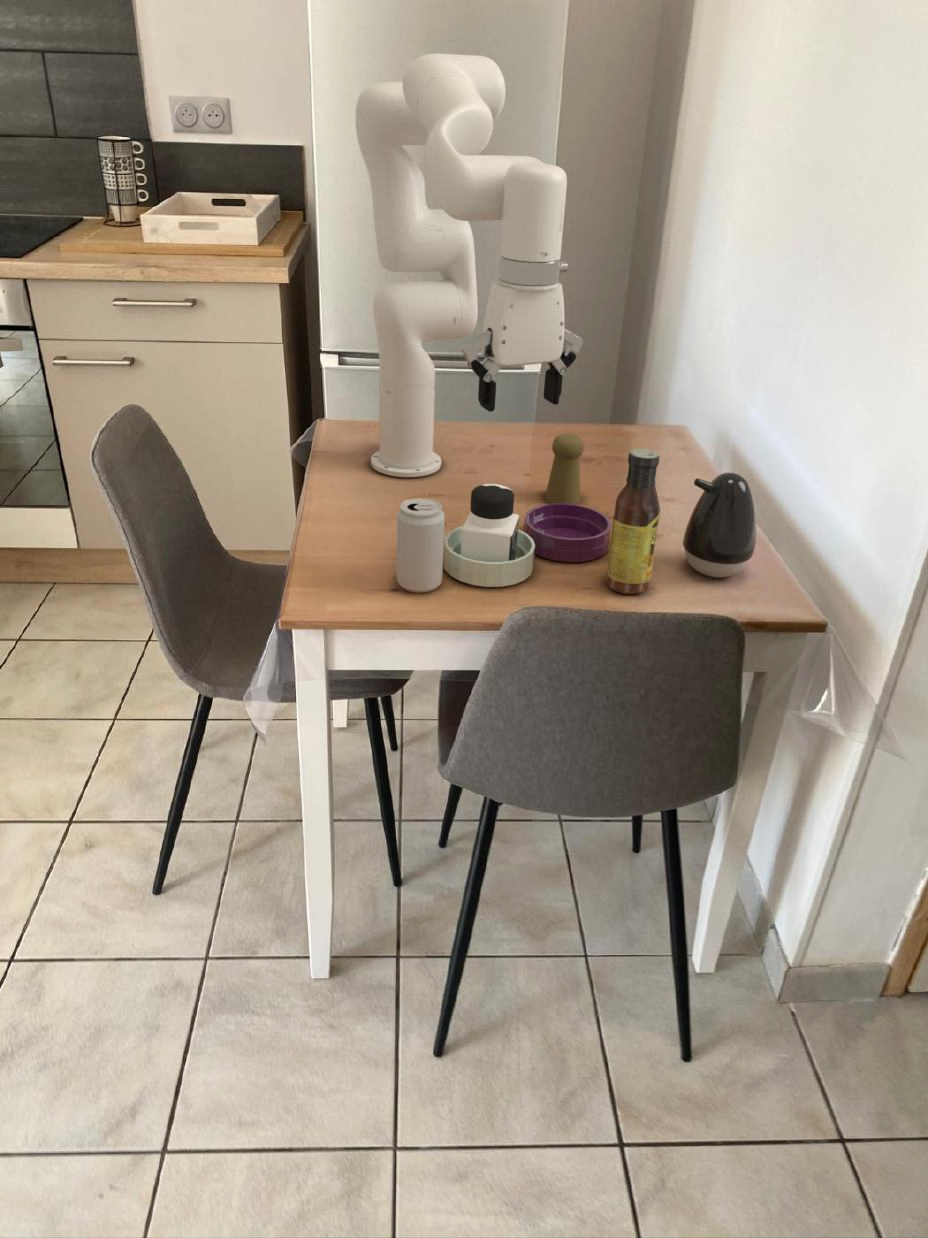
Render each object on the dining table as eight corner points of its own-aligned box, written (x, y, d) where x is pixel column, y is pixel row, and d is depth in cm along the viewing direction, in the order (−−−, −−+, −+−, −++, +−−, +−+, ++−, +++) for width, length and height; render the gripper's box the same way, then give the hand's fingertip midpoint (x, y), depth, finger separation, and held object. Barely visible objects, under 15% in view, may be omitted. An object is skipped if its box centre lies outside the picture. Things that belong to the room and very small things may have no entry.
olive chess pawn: (583, 495, 164) (591, 433, 158) (575, 508, 159) (583, 445, 153) (549, 489, 165) (555, 428, 160) (540, 502, 161) (546, 439, 155)
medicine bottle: (508, 579, 136) (514, 502, 130) (459, 573, 137) (462, 495, 131) (516, 557, 142) (522, 482, 136) (468, 551, 143) (472, 476, 137)
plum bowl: (508, 532, 150) (510, 509, 148) (581, 521, 155) (583, 498, 153) (547, 569, 140) (550, 544, 138) (623, 556, 145) (627, 532, 143)
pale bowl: (430, 554, 142) (430, 530, 140) (508, 541, 147) (510, 518, 145) (465, 595, 132) (466, 569, 130) (548, 580, 137) (550, 555, 135)
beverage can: (395, 573, 137) (396, 495, 131) (440, 573, 137) (443, 496, 131) (397, 595, 131) (397, 515, 125) (443, 595, 132) (446, 515, 126)
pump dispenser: (669, 553, 146) (686, 459, 138) (735, 553, 147) (755, 460, 139) (688, 585, 137) (706, 487, 130) (758, 586, 138) (780, 488, 130)
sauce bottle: (653, 596, 134) (675, 463, 124) (609, 596, 134) (628, 462, 123) (642, 574, 140) (662, 445, 130) (600, 574, 139) (617, 444, 129)
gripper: (573, 263, 126) (561, 391, 135) (454, 269, 120) (449, 402, 129) (603, 275, 121) (588, 407, 129) (479, 281, 114) (472, 420, 123)
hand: (519, 404), depth 129 cm, fingers open, 9 cm apart
